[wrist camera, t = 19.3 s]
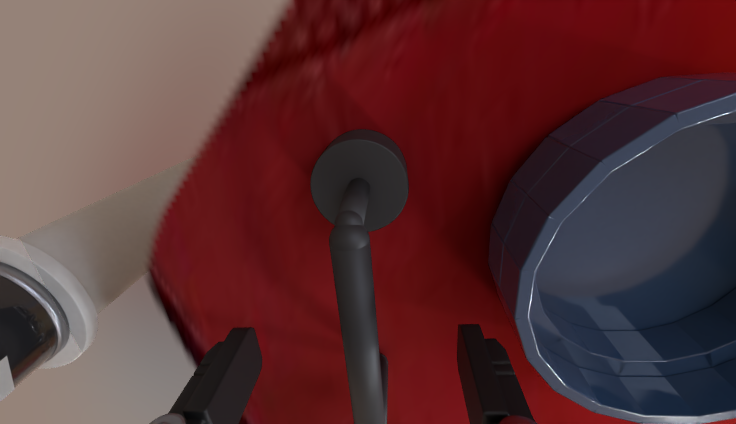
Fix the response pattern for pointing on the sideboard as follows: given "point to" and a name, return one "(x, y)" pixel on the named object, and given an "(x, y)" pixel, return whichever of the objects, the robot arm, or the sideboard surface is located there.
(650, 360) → the bowl
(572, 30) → the sideboard surface
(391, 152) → the door handle
